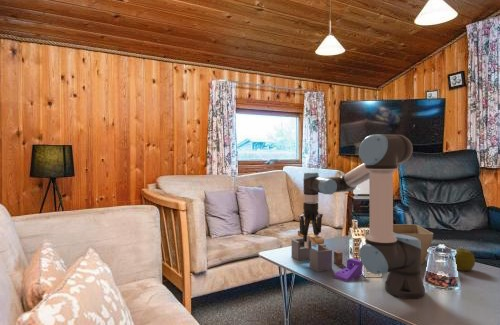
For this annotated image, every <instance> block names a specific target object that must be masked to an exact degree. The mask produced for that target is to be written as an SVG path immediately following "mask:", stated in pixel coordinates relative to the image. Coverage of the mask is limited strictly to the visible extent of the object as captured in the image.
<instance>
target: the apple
mask: <svg viewBox="0 0 500 325" xmlns="http://www.w3.org/2000/svg"><path fill="white" fill-rule="evenodd" d="M455 250H457V254H456V257H455V258H456V264H457V268H458V269H457V268H456V269H457V270H459V271H463V272H467V271H470V270H471V271H472V269H473V268H474V266H475V264H476V263H475V262H476V257H475V255H474V254H473V252H471V251H470V250H469V249H465V248H456V249H455Z"/></svg>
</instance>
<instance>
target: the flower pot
mask: <svg viewBox="0 0 500 325" xmlns="http://www.w3.org/2000/svg"><path fill="white" fill-rule="evenodd" d="M393 234H402V235H408V236H412V237H415V238H418V239H419V240H420V241H421V248H422V249H421V265H423V264H425V263H424V262H425V261H426V258H427V257H428V254H429V252H427V249H428V248H429V247H430V248H431V246H432V242H433V238H434V232H432V231H429V230H428V229H426V228H424V227H422V226H421V225H418V224H410V223H409V224H405V223H403V224H402V223H401V224H396V223H395V224H394V223H393Z"/></svg>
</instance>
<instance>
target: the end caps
mask: <svg viewBox="0 0 500 325" xmlns="http://www.w3.org/2000/svg"><path fill="white" fill-rule="evenodd" d="M312 247H313V246H312V242H311V241H309V248H308V249H307V248H305V247H304V241H303V238H302V237H301V238H299V237H298V238H293V239H291V257H292V258H293V259H295V260H296V261H302V260H303V261H304V260H308V259H309V268H310V269H312V270H314V271H315V272H318V273H319V272H323V271H330V270H333V249H331V248H329V247H327V246H326V247H324V246H323V247H322V251H318V249H314V248H312Z"/></svg>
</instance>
